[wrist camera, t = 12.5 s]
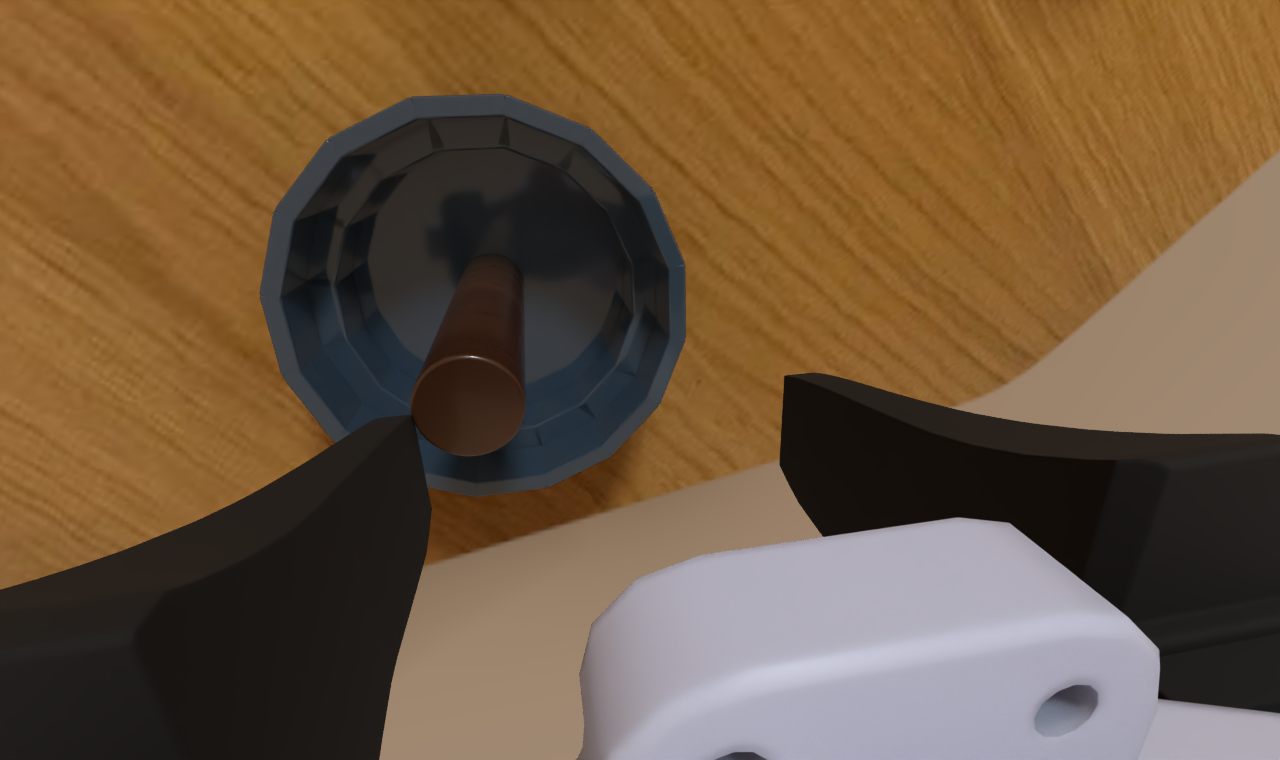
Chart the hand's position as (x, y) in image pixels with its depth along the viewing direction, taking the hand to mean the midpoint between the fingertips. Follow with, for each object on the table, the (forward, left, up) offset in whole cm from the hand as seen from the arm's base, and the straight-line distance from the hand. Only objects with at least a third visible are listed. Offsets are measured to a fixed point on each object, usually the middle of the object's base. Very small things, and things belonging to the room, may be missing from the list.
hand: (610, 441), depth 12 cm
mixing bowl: (+1, +2, -10) cm, 11 cm away
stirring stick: (+1, +2, -10) cm, 10 cm away
